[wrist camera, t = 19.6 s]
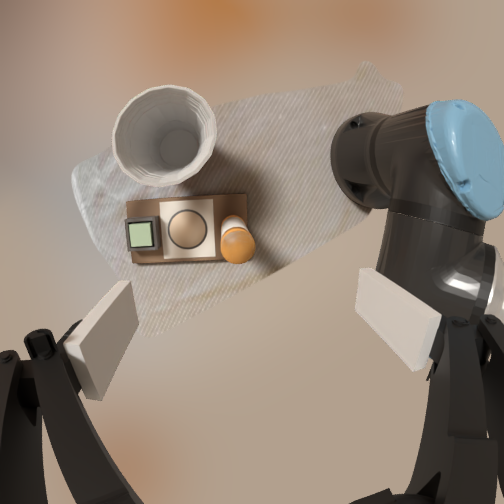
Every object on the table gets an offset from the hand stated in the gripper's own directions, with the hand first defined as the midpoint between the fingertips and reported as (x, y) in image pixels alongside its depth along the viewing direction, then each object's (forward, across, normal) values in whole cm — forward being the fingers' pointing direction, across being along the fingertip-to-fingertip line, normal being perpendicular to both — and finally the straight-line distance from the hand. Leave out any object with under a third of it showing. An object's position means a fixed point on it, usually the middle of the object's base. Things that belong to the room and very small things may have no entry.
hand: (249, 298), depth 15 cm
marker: (+24, 0, 0) cm, 24 cm away
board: (+25, +6, 0) cm, 26 cm away
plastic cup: (+25, +7, -12) cm, 28 cm away
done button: (+23, +12, 0) cm, 26 cm away
